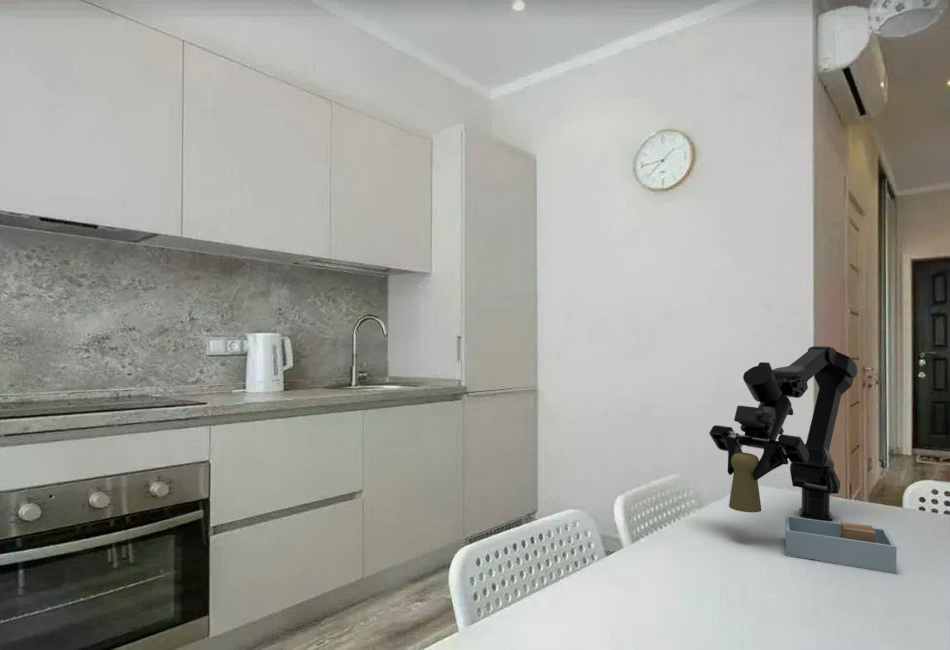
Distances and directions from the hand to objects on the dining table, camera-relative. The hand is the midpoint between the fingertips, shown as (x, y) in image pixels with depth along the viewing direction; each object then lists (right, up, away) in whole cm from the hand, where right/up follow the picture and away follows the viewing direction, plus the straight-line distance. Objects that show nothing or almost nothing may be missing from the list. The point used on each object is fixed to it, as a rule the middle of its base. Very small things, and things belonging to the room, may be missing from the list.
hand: (741, 476), depth 119 cm
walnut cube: (+19, -13, -7) cm, 24 cm away
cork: (+1, -7, +1) cm, 7 cm away
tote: (+15, -13, -6) cm, 21 cm away
